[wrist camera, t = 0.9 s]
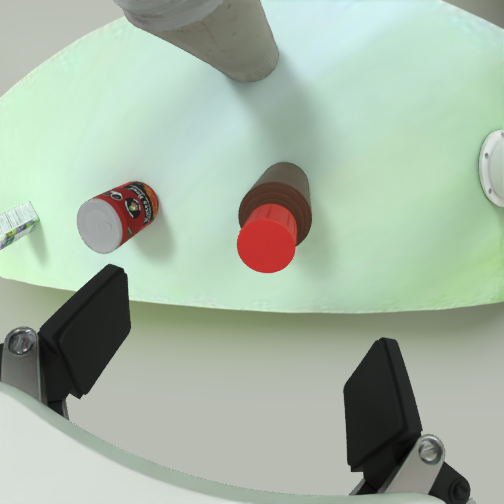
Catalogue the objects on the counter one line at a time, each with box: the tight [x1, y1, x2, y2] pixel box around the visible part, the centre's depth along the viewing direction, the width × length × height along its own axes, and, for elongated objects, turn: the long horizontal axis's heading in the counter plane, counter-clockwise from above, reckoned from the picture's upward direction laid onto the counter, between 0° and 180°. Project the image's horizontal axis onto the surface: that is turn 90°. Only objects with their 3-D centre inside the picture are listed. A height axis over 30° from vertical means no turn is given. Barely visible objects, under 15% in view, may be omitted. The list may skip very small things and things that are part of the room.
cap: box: [237, 204, 297, 273], centre depth 20 cm, size 4×4×4 cm
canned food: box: [77, 182, 158, 254], centre depth 36 cm, size 8×8×11 cm
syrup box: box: [0, 201, 39, 250], centre depth 41 cm, size 6×6×14 cm
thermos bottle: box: [114, 0, 279, 82], centre depth 16 cm, size 8×8×28 cm
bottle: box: [238, 162, 312, 247], centre depth 27 cm, size 6×6×20 cm
